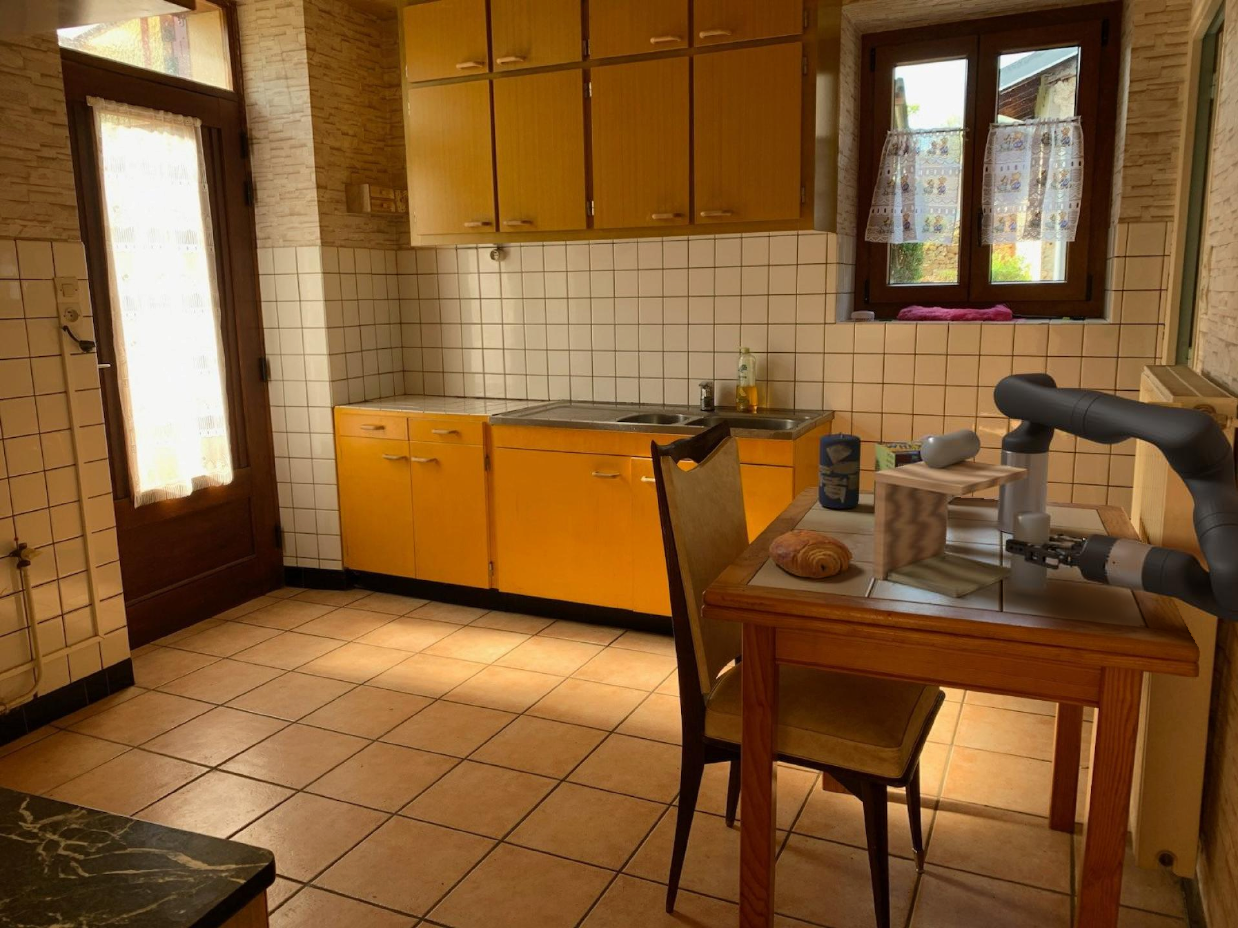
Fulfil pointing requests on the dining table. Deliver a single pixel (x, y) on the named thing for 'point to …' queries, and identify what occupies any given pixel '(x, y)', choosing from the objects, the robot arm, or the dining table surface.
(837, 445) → the canister
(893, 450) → the protein box
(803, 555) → the croissant
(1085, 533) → the dining table surface
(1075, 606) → the dining table surface
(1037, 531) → the grey rounded cylinder
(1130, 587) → the robot arm
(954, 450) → the grey lying cylinder
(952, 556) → the wooden shelf stand
